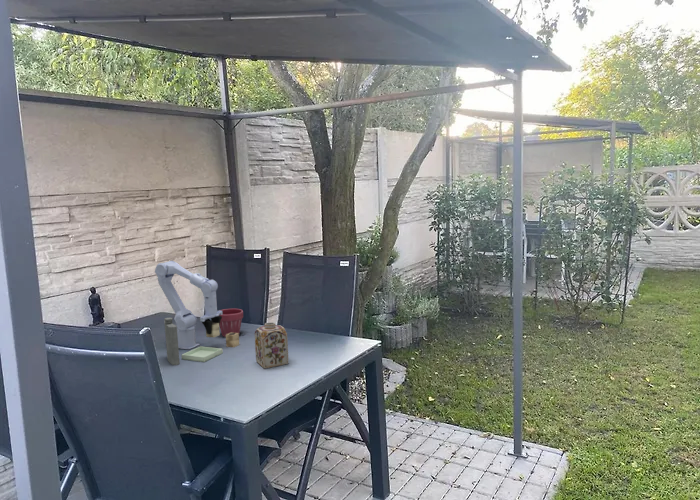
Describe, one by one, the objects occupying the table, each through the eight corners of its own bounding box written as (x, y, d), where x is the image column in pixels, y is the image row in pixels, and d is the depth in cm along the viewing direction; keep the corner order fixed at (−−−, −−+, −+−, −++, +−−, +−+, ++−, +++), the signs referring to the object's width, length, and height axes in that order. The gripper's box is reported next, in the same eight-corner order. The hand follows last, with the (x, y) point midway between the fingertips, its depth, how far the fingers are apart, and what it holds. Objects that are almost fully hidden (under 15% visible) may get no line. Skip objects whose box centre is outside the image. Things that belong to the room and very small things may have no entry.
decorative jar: (263, 369, 221) (261, 328, 219) (255, 361, 232) (252, 322, 229) (289, 364, 227) (287, 324, 225) (280, 356, 237) (278, 318, 235)
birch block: (206, 336, 252) (205, 324, 251) (212, 334, 256) (211, 322, 255) (213, 337, 250) (212, 325, 249) (219, 335, 254) (218, 322, 253)
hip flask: (180, 364, 232) (176, 320, 229) (170, 366, 230) (167, 322, 228) (173, 355, 246) (170, 313, 243) (165, 356, 244) (161, 315, 241)
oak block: (226, 346, 256) (225, 334, 255) (231, 344, 260) (231, 332, 259) (233, 347, 254) (233, 335, 253) (239, 344, 258) (238, 332, 257)
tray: (181, 359, 239) (181, 354, 239) (200, 350, 251) (200, 346, 251) (204, 362, 234) (204, 357, 233) (222, 353, 246) (222, 348, 245)
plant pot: (250, 332, 279) (248, 309, 277) (231, 339, 267) (229, 315, 265) (230, 329, 286) (229, 307, 285) (211, 336, 275) (209, 313, 273)
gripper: (207, 309, 243) (209, 337, 245) (226, 302, 256) (228, 329, 258) (195, 308, 246) (197, 336, 247) (215, 301, 259) (217, 328, 261)
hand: (212, 332), depth 253 cm, fingers closed on birch block, 4 cm apart
